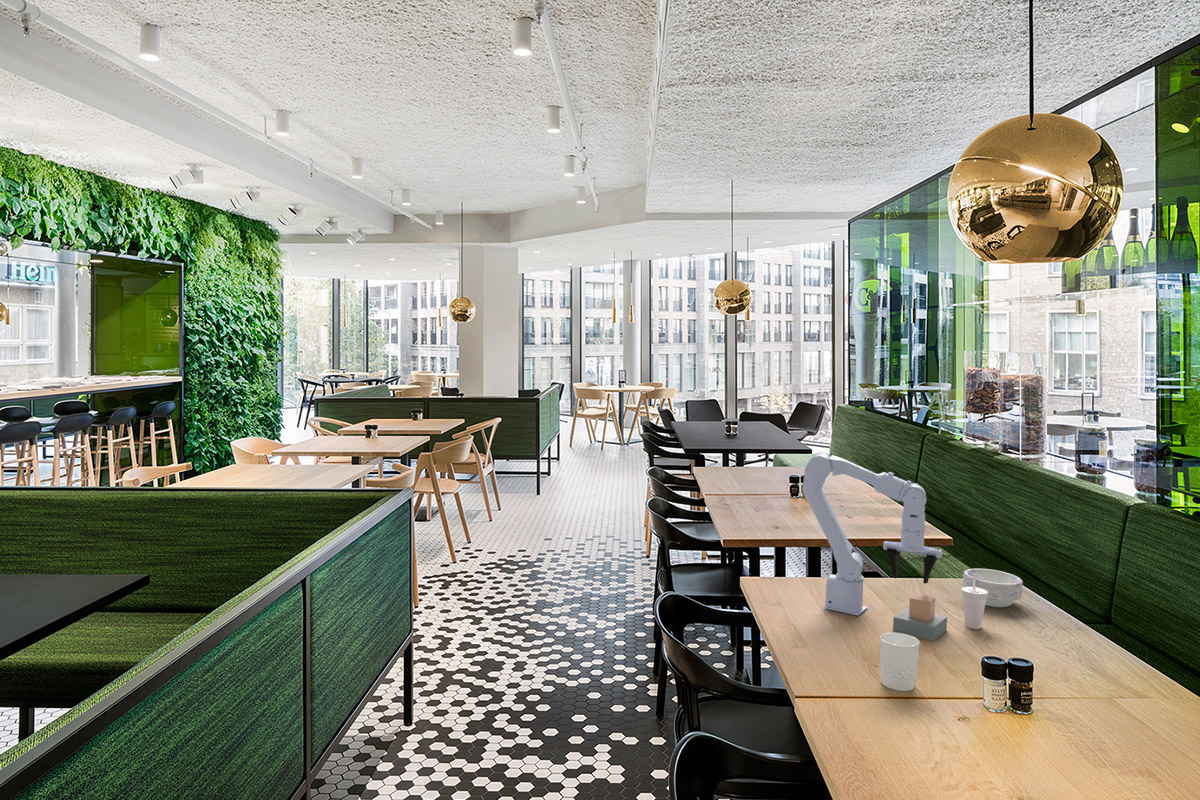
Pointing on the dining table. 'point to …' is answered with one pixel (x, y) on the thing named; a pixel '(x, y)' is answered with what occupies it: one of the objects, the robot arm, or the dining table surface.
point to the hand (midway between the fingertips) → (910, 579)
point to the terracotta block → (922, 607)
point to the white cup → (898, 660)
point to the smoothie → (974, 605)
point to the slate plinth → (920, 625)
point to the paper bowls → (995, 586)
